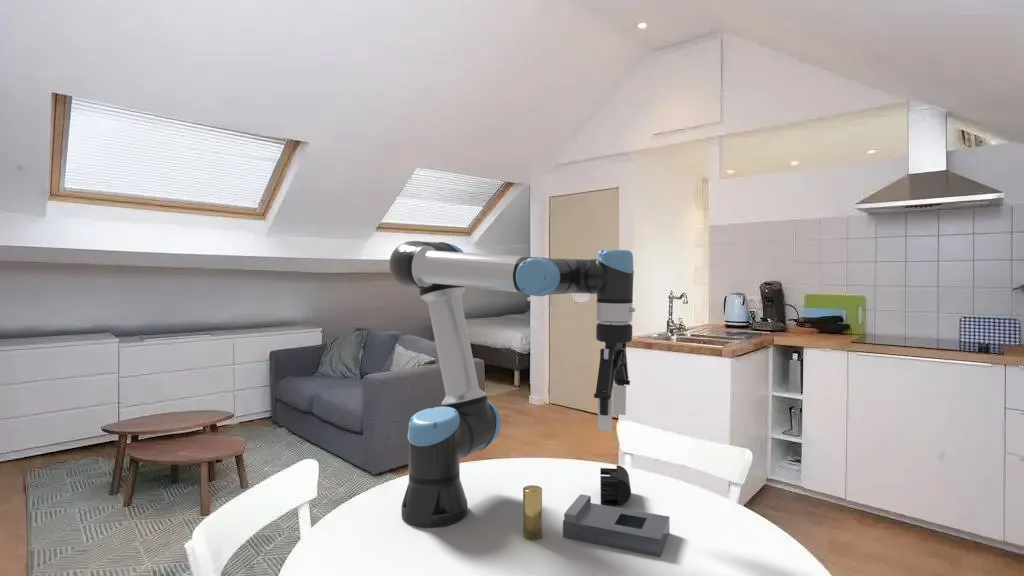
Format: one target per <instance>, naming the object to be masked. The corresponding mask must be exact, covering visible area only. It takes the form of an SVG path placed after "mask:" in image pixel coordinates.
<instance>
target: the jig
mask: <svg viewBox="0 0 1024 576" xmlns="http://www.w3.org/2000/svg"><path fill="white" fill-rule="evenodd" d="M591 500H592V498H591V495H586V494H582V493H581V494H578V496H577V498H576V499H575V500H573V503H572V504H570V505H569V507H568V508H567V509H566V511H565V512H564V513H563V515H564V516H563V517H564V518H563V520H562V538H564V539H570V540H575V541H580V542H585V543H590V544H595V545H600V546H604V547H610V548H614V549H619V550H624V551H629V552H634V553H639V554H642V555H647V556H648V555H650V556H654V557H658V558H661V556H662V553H663V551H664V548H665V546H666V543H667V541H668V538H669V535H670V516H669V515H662V514H657V513H650V512H644V511H639V510H634V509H628V508H622V507H618V506H606V505H601V503H600V504H599V503H592V502H591Z"/></svg>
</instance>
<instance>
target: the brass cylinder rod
mask: <svg viewBox="0 0 1024 576" xmlns="http://www.w3.org/2000/svg"><path fill="white" fill-rule="evenodd" d="M522 507H523V508H522V516H523V517H522V518H523V519H522V525H523V526H522V527H523V528H522V531H523V533H522V534H523V538H524V539H525V540H527V541H539V540H541V539H543V488H542V487H541V486H539V485H531V484H529V485H526V486H524V487H523V488H522Z"/></svg>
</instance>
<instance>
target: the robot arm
mask: <svg viewBox="0 0 1024 576" xmlns="http://www.w3.org/2000/svg"><path fill="white" fill-rule="evenodd" d="M596 255H597V256H596V258H591V259H581V258H580V259H579V258H577V259H576V258H551V257H550V258H549V257H539V256H536V257H535V256H521V255H520V256H519V255H507V254H505V255H504V254H489V253H477V252H475V253H474V252H464V250H462V249H461V248H460V247H458V246H457V245H455V244H454V243H448V242H443V241H433V242H432V241H420V240H409V241H405V242H402V243H401V244H399V245H398V246H397V247H395V249H394V250H393V251H392V253H391V255H390V258H389V272H390V273H391V276H392V277H393V279H394V280H395V281H396V282H397V283H398V284H399V285H401V286H403V287H407V288H410V289H411V288H412V289H418V290H419V296H420V299H422V300H423V301H425V302H426V303H427V305H428V310H429V316H430V321H431V327H432V332H433V337H434V342H435V346H436V353H437V358H438V361H439V366H440V372H441V376H442V378H441V379H442V383H443V387H444V392H445V397H444V399H442V401H441V406H434V407H433V408H432V407H429V408H425V409H422V410H420V411H418V412H416V413H414V414H413V415H412V416H411V417H410V419H409V421H408V431H407V445H408V446H407V447H408V448H407V451H408V452H407V453H408V456H407V457H408V483H407V487H406V490H405V493H404V497H403V500H402V503H401V518H402V520H403V521H404V523H405V522H406V523H407V524H409V525H412V526H415V527H421V528H440V527H444V526H445V527H446V526H449V525H452V524H454V523H457V522H459V521H461V520H463V519H464V518H465V517H466V516H467V514H468V499H467V496H466V493H465V491H464V487H463V485H462V481H461V477H460V476H461V474H460V472H461V471H460V467H461V466H460V460H461V459H464V458H465V457H467V456H468V457H469V455H472V454H474V453H476V452H479V451H482V450H485V449H486V448H487V447H488V446H490V445H492V444H493V443H494V442H495V441H496V440H497V438H498V437H499V435H500V431H501V427H502V426H501V425H502V423H501V422H502V421H501V414H500V413H499V410H498V408H497V406H494V404H493V403H492V402H490V401H489V400H488V395H487V393H486V392H485V391H483V390H482V389H481V388H480V386H479V382H478V376H477V371H476V367H475V366H476V365H475V361H474V356H473V353H472V346H471V341H470V337H469V332H468V327H467V322H466V317H465V312H464V307H463V301H462V295H463V293H464V292H465V290H466V288H473V289H474V288H475V289H483V290H492V291H493V290H494V291H503V292H512V293H513V292H514V293H523V294H526V295H528V296H533V297H546V296H550V295H551V296H552V295H565V294H589V295H590V294H591V295H595V294H596V310H595V311H596V316H595V317H596V318H595V320H596V321H597V322H598V323H597V324H596V325H595V327H596V329H595V334H596V335H595V338H596V340H597V341H598V342H601V343H602V342H603V343H604V348H600V350H599V356H600V357H599V365H598V371H597V372H598V373H597V379H596V389H595V393H593V398H594V399H598V400H597V405H598V406H597V430H599V431H602V432H603V431H606V432H612V431H613V415H620V416H626V415H627V413H626V412H627V386H630V384H631V380H630V379H629V378H630V377H629V371H628V359H627V343H630V342H632V340H633V325H632V324H631V322H632V321H633V313H635V312H636V308H635V307H633V296H634V294H633V293H634V275H635V274H634V273H635V271H634V270H635V269H634V255H633V252H632V251H630V250H627V249H600V250H599V251H598V252H597V254H596ZM612 395H613V398H612Z"/></svg>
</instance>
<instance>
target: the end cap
mask: <svg viewBox="0 0 1024 576" xmlns="http://www.w3.org/2000/svg"><path fill="white" fill-rule="evenodd" d="M629 475H630V474H629V473H628V470H627V469H626V468H625V467H623V466H621V465H616V468H608V467H605V468H604V467H600V475H599V476H600V479H599V481H600V484H599V485H600V505H606V506H611V507H621V506H624V504H626V503H628V501H629V500H630V498H631V495H632V489H631V482H630V476H629Z"/></svg>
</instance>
